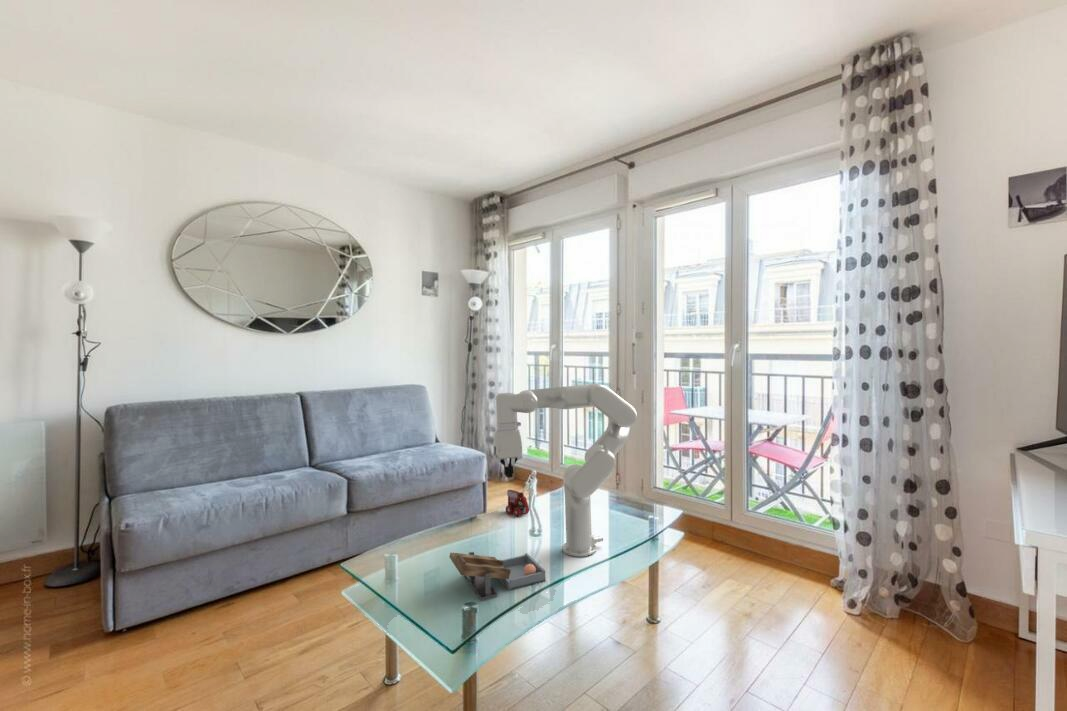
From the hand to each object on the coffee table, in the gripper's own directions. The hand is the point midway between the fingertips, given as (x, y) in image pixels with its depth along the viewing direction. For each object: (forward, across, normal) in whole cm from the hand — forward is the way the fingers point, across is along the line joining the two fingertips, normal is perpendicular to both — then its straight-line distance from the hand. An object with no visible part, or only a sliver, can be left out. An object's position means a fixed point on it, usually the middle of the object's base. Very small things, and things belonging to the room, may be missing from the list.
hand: (509, 476), depth 173 cm
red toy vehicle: (+29, -19, -40) cm, 53 cm away
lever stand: (+29, +18, +16) cm, 38 cm away
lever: (+23, +18, +16) cm, 33 cm away
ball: (+26, +1, +19) cm, 33 cm away
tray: (+29, +4, +16) cm, 33 cm away
